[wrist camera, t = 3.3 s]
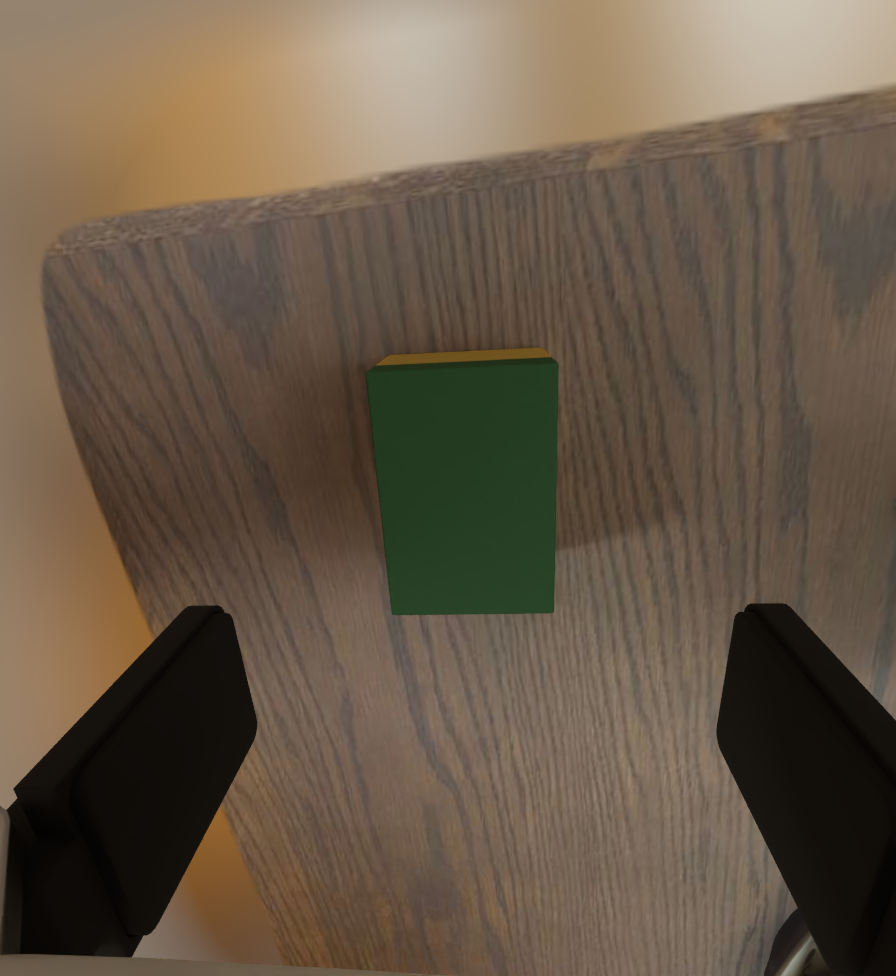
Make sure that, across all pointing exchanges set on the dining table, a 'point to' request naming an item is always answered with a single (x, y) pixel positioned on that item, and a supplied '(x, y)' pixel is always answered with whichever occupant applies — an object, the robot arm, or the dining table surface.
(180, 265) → the dining table surface
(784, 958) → the salad plate
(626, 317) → the dining table surface
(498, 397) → the scrubber
